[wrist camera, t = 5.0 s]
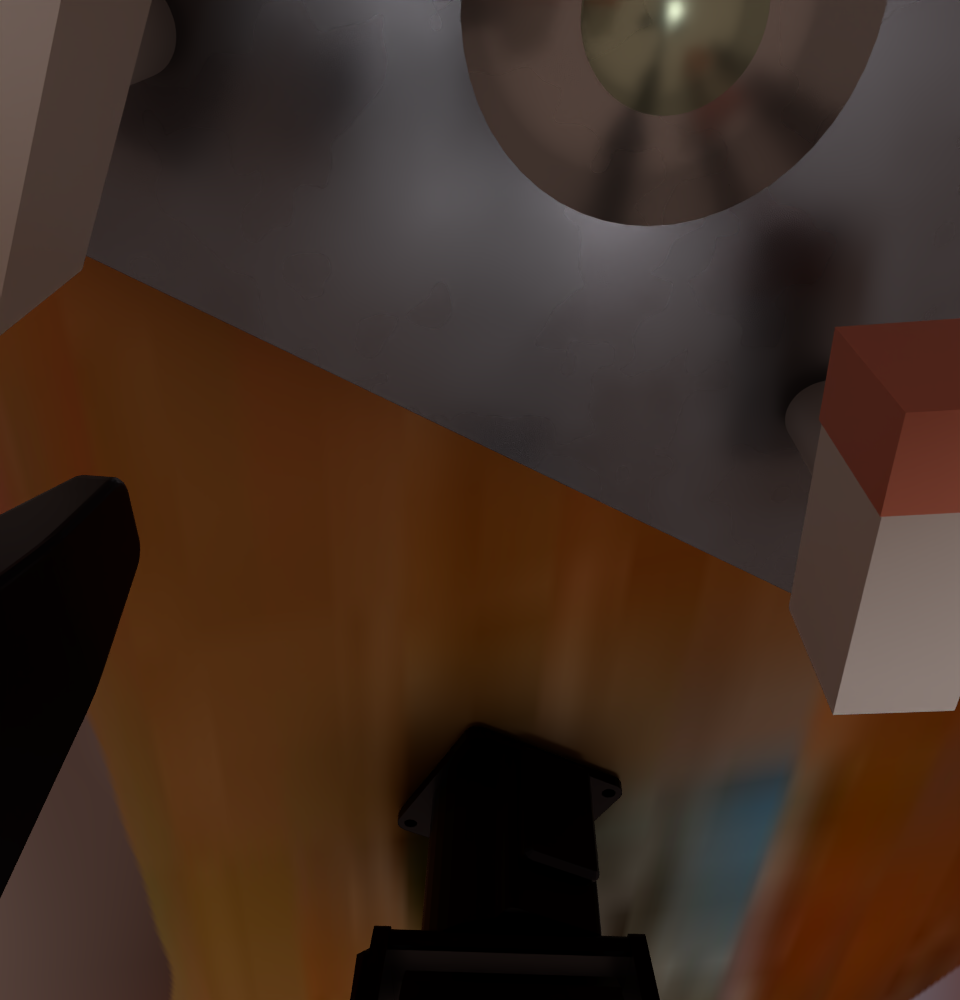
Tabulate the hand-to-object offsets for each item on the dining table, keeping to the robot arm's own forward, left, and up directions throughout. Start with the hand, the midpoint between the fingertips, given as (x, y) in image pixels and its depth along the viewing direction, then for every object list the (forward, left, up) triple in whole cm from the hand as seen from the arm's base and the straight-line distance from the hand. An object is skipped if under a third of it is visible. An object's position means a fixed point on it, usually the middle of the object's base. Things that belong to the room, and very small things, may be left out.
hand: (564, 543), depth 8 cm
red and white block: (0, -8, -11) cm, 14 cm away
